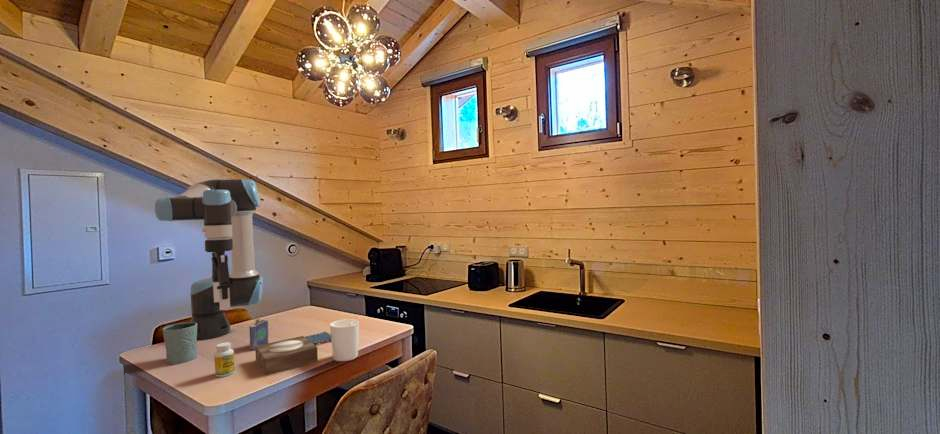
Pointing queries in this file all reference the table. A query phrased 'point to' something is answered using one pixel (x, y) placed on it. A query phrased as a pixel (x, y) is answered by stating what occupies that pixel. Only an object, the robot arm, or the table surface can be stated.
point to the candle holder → (345, 339)
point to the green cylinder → (180, 342)
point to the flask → (258, 333)
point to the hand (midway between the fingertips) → (221, 305)
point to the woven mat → (319, 338)
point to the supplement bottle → (224, 360)
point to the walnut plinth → (285, 354)
